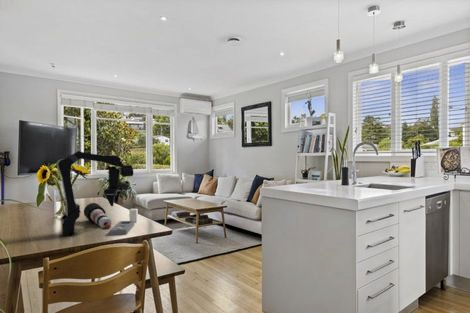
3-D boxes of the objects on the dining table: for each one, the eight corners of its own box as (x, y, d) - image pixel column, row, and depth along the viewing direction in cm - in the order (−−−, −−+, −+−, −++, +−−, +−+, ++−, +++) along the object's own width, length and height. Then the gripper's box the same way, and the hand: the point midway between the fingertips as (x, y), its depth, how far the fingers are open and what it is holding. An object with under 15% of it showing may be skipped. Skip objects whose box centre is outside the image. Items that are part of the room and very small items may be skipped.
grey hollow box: (126, 236, 154) (126, 228, 154) (110, 237, 153) (110, 229, 153) (134, 226, 174) (134, 219, 173) (120, 227, 173) (119, 220, 172)
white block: (136, 223, 179) (136, 209, 179) (129, 223, 179) (129, 210, 179) (137, 221, 183) (137, 208, 183) (131, 222, 183) (130, 208, 183)
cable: (104, 239, 164) (95, 224, 160) (88, 221, 190) (80, 208, 187) (121, 228, 169) (113, 214, 166) (103, 212, 196) (96, 199, 192)
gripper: (124, 178, 163) (125, 207, 164) (132, 175, 182) (132, 201, 182) (103, 178, 162) (103, 207, 162) (112, 176, 181) (113, 202, 181)
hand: (114, 204), depth 172 cm, fingers open, 9 cm apart
